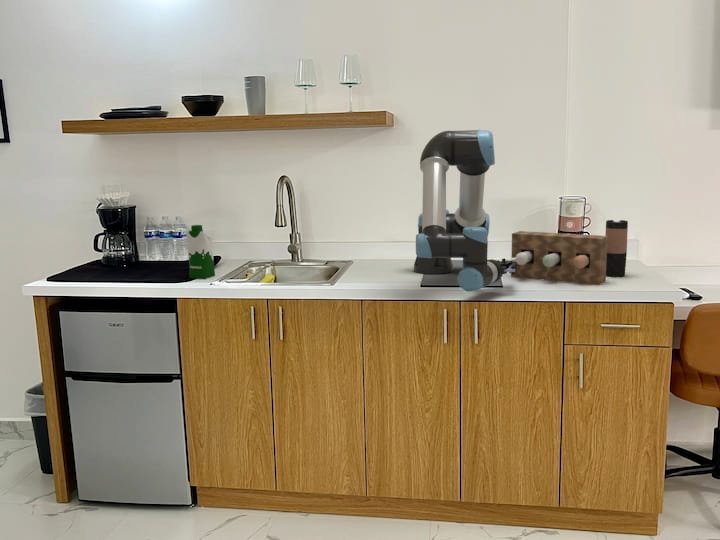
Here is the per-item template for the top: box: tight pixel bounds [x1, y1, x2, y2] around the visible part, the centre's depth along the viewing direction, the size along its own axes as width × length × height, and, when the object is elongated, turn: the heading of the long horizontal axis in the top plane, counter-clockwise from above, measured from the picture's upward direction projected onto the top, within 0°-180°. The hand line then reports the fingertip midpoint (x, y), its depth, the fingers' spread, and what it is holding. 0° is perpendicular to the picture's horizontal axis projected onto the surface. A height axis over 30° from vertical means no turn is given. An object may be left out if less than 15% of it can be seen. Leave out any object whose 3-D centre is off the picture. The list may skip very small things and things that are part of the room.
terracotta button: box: [574, 254, 590, 268], centre depth 256 cm, size 4×7×4 cm, turn 147°
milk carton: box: [185, 224, 216, 280], centre depth 281 cm, size 9×9×20 cm
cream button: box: [515, 251, 534, 265], centre depth 264 cm, size 4×7×4 cm, turn 147°
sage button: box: [543, 253, 561, 267], centre depth 259 cm, size 4×7×4 cm, turn 147°
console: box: [510, 230, 608, 286], centre depth 264 cm, size 32×8×16 cm, turn 57°
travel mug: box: [604, 219, 629, 278], centre depth 269 cm, size 8×8×20 cm
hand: (515, 261), depth 257 cm, fingers closed
